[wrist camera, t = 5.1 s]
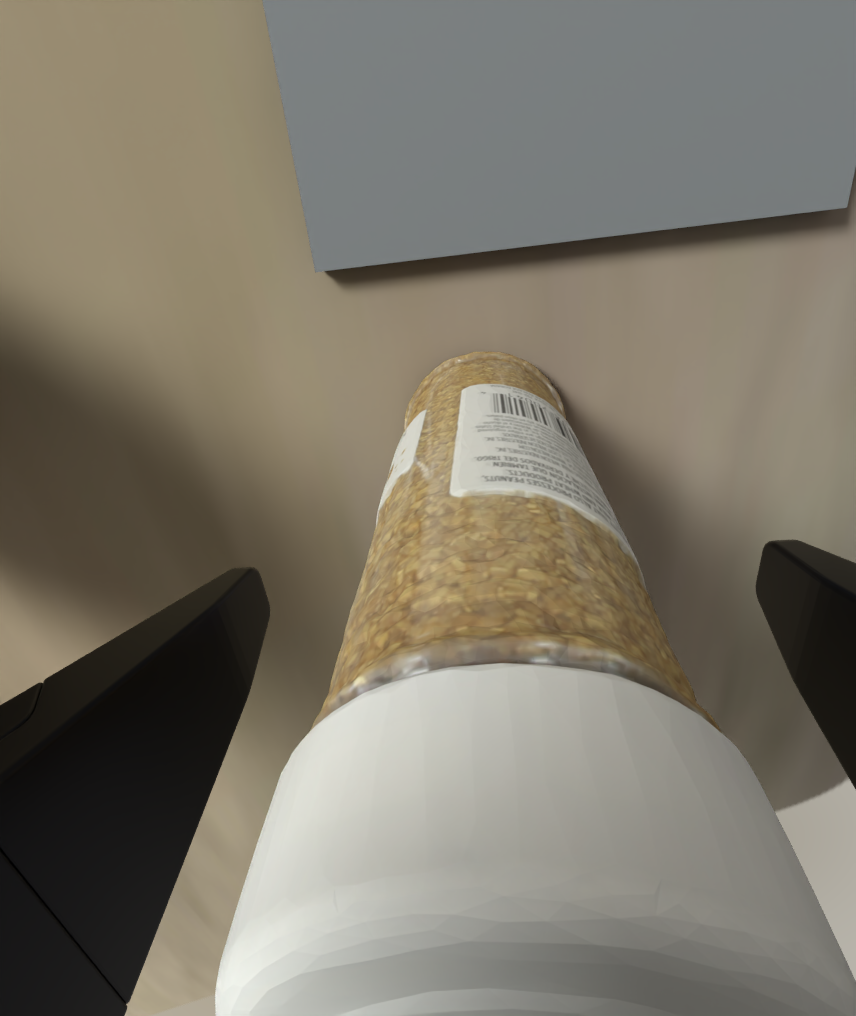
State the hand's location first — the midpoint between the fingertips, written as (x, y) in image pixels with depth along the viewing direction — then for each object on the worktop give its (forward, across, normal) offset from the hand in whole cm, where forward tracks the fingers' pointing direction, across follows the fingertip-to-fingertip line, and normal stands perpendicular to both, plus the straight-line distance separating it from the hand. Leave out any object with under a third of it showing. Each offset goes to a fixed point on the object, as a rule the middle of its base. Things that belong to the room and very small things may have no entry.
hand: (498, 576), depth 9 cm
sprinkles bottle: (+7, 0, 0) cm, 7 cm away
